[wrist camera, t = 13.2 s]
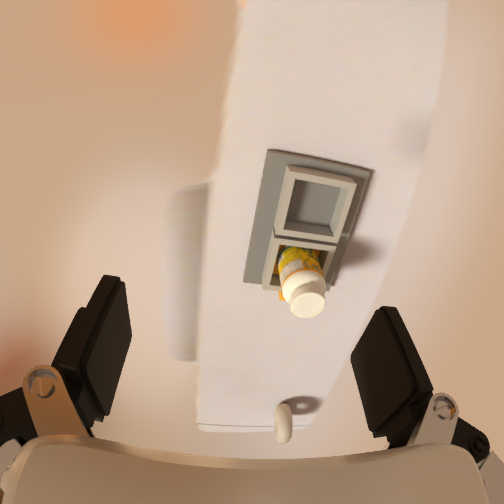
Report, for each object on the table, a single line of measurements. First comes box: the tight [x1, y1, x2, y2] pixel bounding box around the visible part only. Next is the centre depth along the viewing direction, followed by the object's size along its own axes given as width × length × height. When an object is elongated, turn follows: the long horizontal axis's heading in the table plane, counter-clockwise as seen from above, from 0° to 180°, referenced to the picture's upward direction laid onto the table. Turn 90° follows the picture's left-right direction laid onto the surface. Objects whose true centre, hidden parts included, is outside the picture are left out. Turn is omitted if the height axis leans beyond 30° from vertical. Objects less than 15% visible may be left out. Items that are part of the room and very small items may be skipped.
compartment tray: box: [243, 149, 370, 301], centre depth 39 cm, size 19×13×4 cm
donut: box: [275, 403, 292, 443], centre depth 63 cm, size 10×4×10 cm, turn 179°
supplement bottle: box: [277, 245, 326, 318], centre depth 38 cm, size 5×5×10 cm
